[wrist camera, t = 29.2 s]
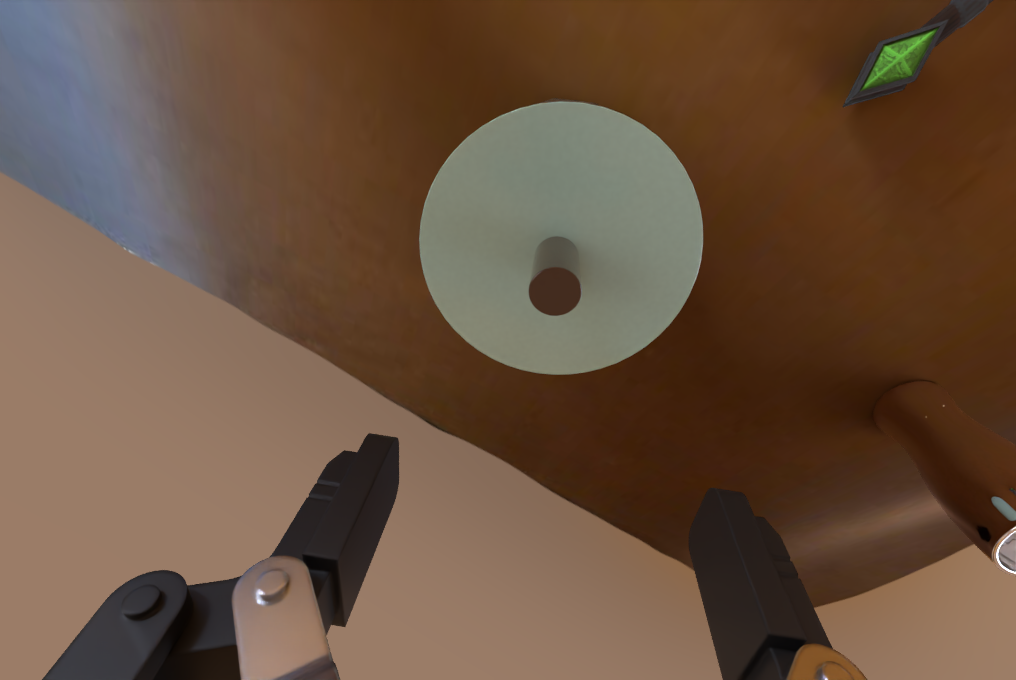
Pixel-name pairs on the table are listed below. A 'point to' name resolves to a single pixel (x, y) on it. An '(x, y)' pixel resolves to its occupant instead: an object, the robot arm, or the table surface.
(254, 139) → the table surface
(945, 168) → the table surface
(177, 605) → the robot arm
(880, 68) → the war hammer
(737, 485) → the table surface
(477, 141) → the pot lid
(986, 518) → the beer glass
